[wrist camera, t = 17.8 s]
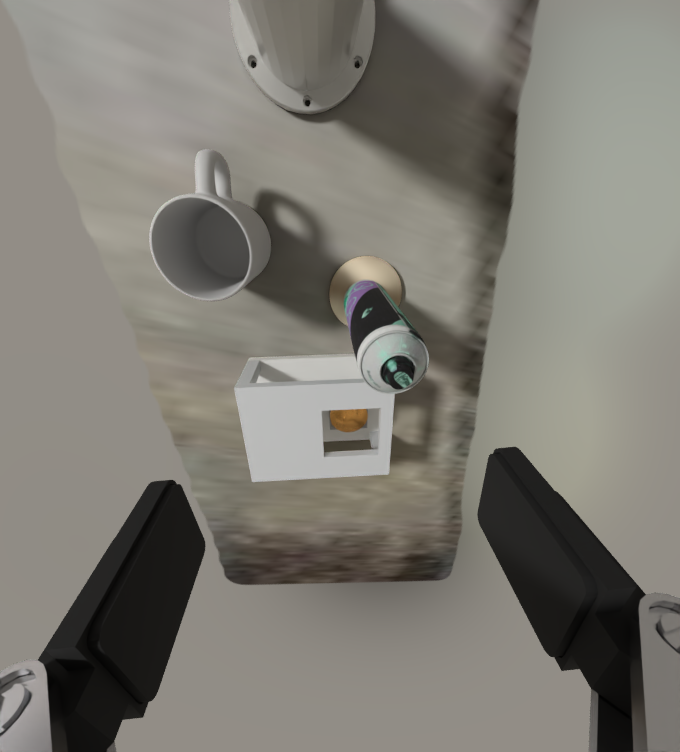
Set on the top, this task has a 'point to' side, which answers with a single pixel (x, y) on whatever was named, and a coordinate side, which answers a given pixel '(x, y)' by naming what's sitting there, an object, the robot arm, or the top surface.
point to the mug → (209, 236)
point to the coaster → (363, 271)
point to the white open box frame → (310, 418)
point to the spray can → (383, 340)
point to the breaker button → (348, 419)
